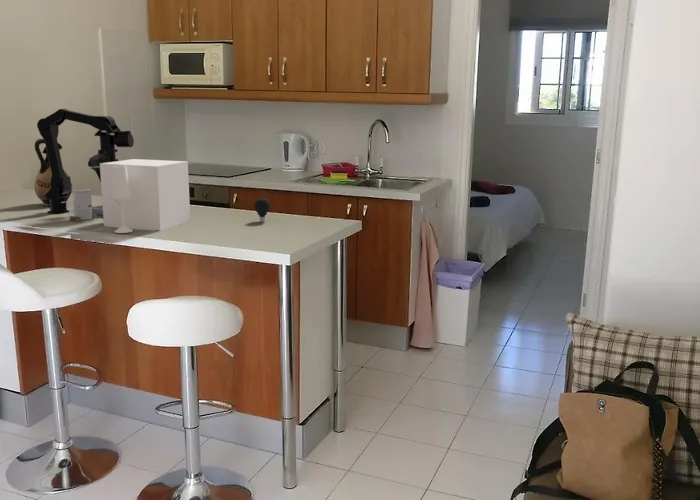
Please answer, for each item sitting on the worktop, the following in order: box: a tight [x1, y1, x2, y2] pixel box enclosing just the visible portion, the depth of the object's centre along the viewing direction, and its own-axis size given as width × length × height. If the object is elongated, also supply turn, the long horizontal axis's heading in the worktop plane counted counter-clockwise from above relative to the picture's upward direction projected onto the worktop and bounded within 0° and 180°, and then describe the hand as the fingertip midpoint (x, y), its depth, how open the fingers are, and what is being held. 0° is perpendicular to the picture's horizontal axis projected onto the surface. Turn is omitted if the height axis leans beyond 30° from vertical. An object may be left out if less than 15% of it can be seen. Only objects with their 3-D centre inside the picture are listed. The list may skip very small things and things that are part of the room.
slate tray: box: [92, 204, 104, 218], centre depth 287 cm, size 14×14×3 cm
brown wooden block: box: [69, 214, 98, 222], centre depth 274 cm, size 5×10×2 cm, turn 152°
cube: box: [100, 158, 191, 232], centre depth 264 cm, size 25×21×24 cm
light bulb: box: [253, 197, 271, 223], centre depth 270 cm, size 6×6×10 cm
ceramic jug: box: [34, 138, 73, 208], centre depth 304 cm, size 17×15×30 cm
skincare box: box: [72, 188, 93, 221], centre depth 272 cm, size 6×4×12 cm
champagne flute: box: [112, 166, 134, 234], centre depth 248 cm, size 7×7×24 cm
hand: (110, 184), depth 284 cm, fingers open, 9 cm apart
